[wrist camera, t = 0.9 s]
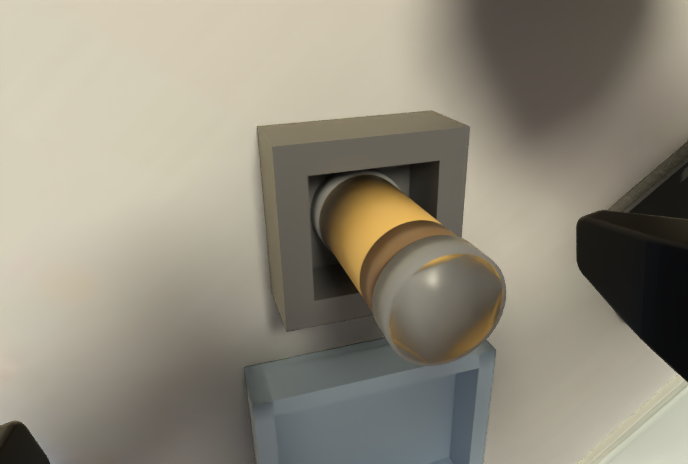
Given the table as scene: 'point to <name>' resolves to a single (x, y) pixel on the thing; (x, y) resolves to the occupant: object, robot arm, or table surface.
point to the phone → (660, 190)
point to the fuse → (408, 268)
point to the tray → (370, 407)
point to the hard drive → (650, 432)
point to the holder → (340, 156)
